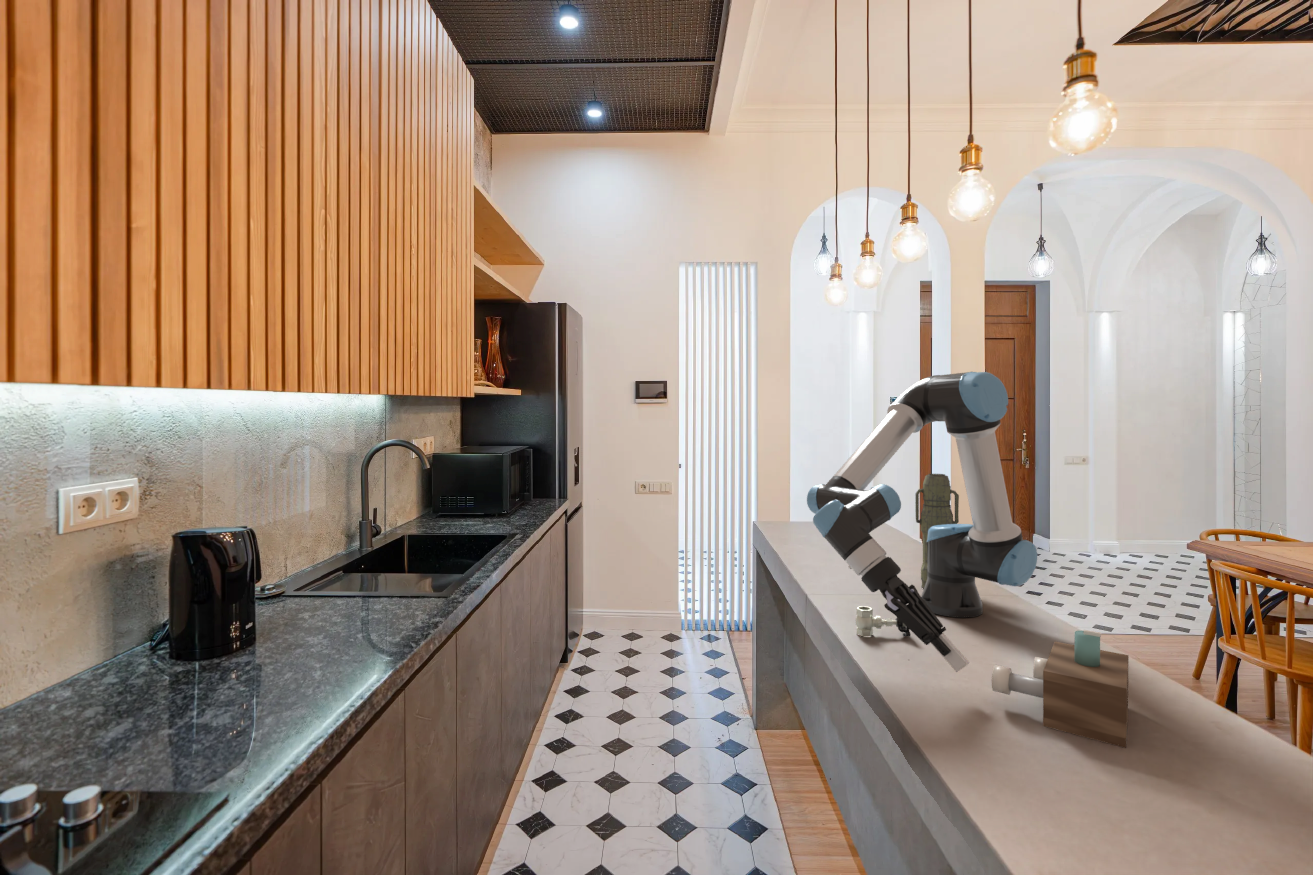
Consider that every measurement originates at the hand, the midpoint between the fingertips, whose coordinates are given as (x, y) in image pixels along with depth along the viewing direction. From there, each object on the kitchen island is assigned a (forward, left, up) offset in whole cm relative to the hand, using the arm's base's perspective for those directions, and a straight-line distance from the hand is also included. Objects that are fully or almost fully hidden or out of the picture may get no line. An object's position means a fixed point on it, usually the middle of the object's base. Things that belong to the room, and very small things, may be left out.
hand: (963, 667), depth 112 cm
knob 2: (-9, +17, -3) cm, 19 cm away
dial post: (-4, +19, +4) cm, 20 cm away
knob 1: (0, +12, -3) cm, 12 cm away
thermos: (-71, -22, -6) cm, 75 cm away
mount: (-4, +19, -5) cm, 20 cm away
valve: (-22, -23, -6) cm, 32 cm away
